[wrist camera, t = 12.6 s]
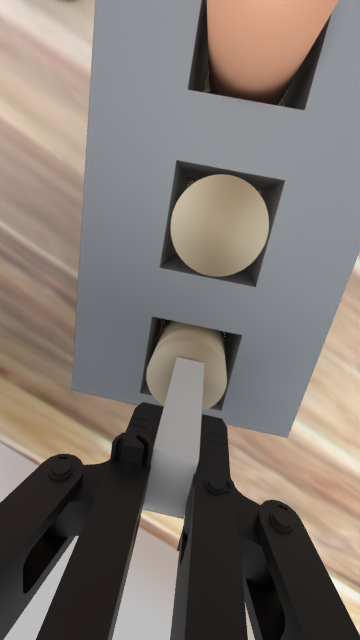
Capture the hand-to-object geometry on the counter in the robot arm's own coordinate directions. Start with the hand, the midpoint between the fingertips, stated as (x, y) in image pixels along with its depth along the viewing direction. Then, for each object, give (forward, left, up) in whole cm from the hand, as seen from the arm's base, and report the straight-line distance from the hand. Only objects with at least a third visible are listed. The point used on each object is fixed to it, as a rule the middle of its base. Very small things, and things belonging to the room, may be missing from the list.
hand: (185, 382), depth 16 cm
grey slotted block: (0, +8, -9) cm, 12 cm away
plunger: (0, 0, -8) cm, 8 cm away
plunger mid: (0, +8, -8) cm, 12 cm away
